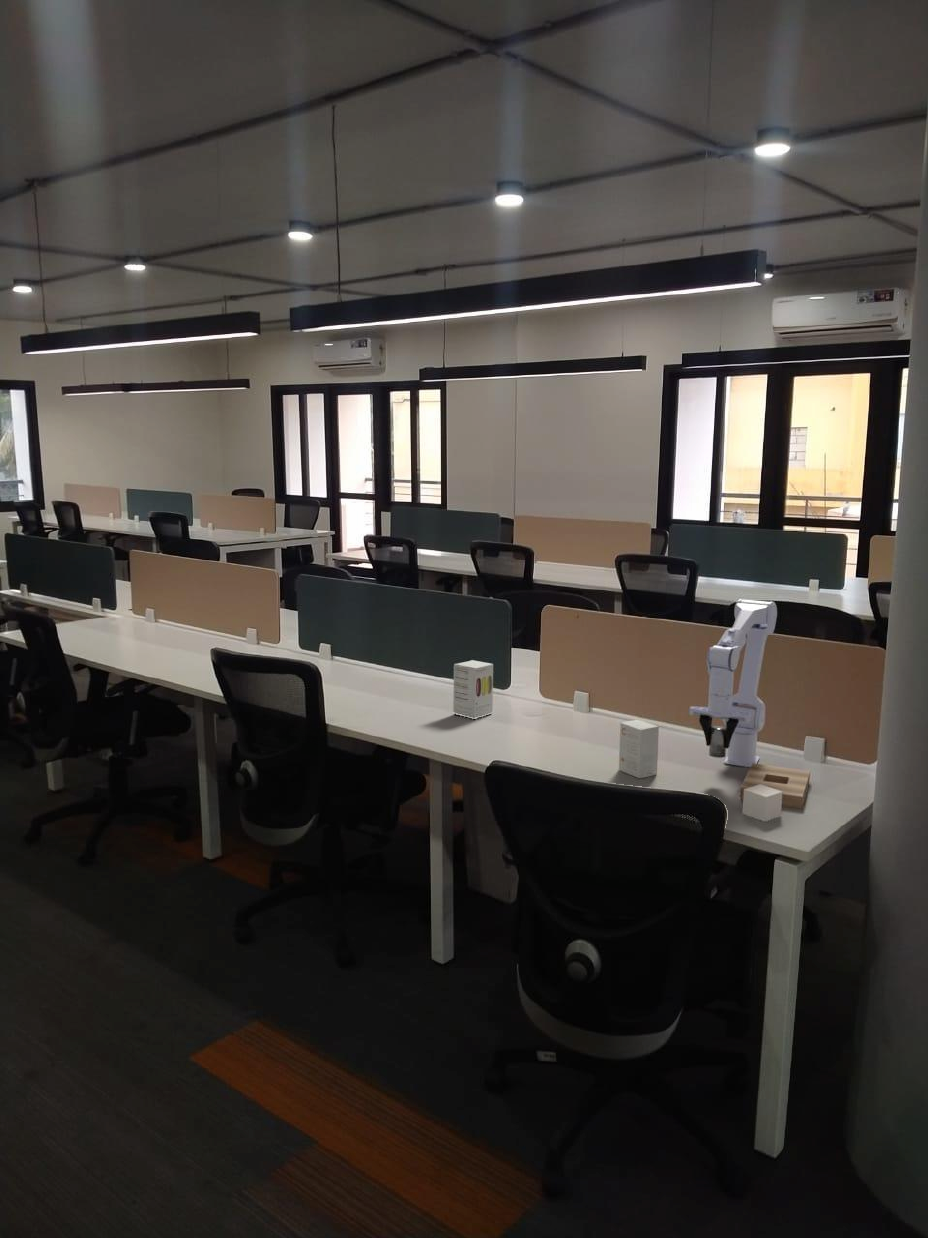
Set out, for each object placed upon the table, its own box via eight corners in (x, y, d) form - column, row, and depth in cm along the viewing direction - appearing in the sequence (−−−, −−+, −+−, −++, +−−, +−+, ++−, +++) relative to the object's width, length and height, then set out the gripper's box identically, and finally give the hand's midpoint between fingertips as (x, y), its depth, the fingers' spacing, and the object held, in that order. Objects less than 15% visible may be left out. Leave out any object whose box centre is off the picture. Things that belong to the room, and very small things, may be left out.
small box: (657, 775, 230) (659, 726, 228) (639, 779, 227) (641, 729, 225) (635, 766, 237) (637, 718, 235) (617, 770, 234) (619, 722, 231)
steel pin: (710, 751, 227) (712, 725, 226) (726, 754, 225) (728, 727, 224) (707, 756, 223) (709, 729, 222) (723, 758, 221) (725, 731, 220)
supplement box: (474, 720, 279) (474, 668, 276) (452, 715, 285) (452, 663, 282) (493, 714, 286) (494, 663, 284) (471, 709, 292) (472, 659, 290)
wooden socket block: (751, 774, 231) (752, 763, 230) (809, 782, 225) (810, 771, 225) (739, 799, 213) (740, 787, 213) (801, 809, 207) (802, 796, 207)
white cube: (758, 808, 208) (760, 784, 207) (780, 816, 203) (782, 791, 202) (742, 814, 204) (743, 789, 203) (764, 822, 199) (766, 797, 198)
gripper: (687, 693, 221) (685, 746, 223) (748, 700, 215) (745, 754, 217) (693, 687, 227) (691, 738, 230) (752, 694, 221) (749, 746, 223)
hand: (717, 746), depth 224 cm, fingers closed on steel pin, 4 cm apart
